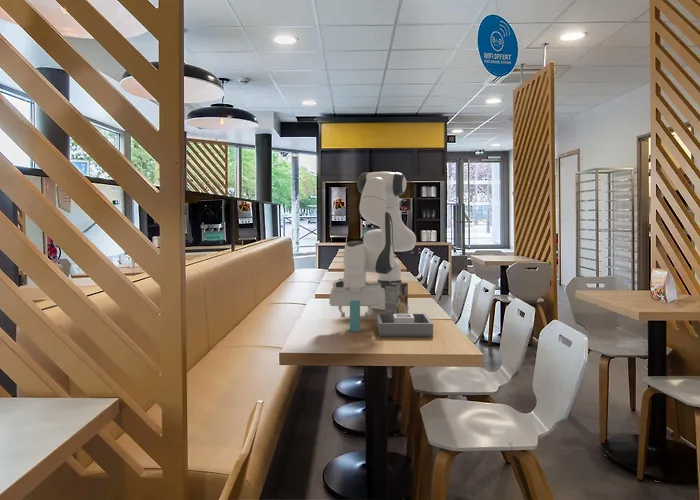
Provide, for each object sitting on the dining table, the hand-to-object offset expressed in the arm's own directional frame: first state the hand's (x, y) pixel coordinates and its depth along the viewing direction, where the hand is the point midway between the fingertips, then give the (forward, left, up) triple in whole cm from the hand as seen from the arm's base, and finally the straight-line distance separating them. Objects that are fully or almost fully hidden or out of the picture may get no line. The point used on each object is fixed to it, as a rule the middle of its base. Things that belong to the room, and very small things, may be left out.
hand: (355, 317), depth 195 cm
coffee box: (-19, +18, -5) cm, 27 cm away
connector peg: (0, 0, -5) cm, 5 cm away
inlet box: (+2, +19, -5) cm, 20 cm away
